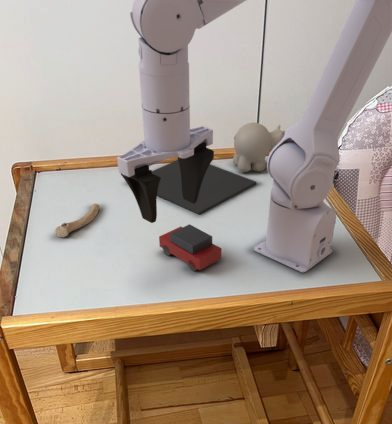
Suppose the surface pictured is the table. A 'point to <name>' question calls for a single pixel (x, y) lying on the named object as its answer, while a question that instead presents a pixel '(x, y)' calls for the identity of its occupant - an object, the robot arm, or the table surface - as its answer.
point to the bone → (77, 222)
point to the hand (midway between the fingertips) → (170, 209)
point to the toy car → (190, 246)
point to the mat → (209, 191)
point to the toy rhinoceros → (254, 146)
